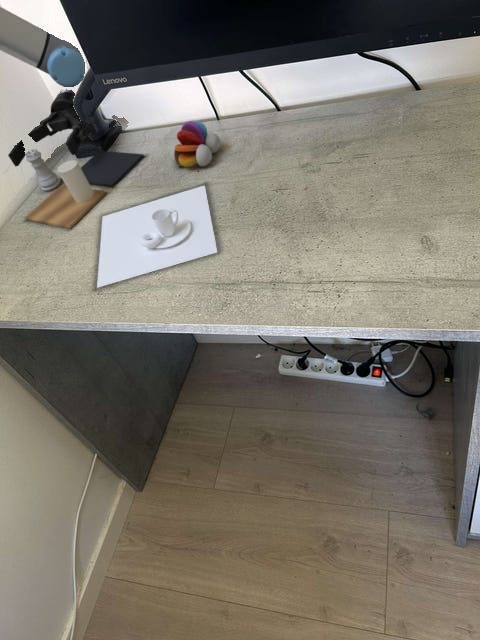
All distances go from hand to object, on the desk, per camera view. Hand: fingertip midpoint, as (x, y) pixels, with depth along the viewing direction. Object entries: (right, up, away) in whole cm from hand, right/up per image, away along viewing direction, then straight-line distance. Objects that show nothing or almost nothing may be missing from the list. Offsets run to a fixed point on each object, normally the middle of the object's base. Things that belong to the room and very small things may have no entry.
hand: (41, 154), depth 102 cm
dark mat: (+13, -3, +1) cm, 14 cm away
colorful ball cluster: (+33, -3, -5) cm, 34 cm away
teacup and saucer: (+27, -20, -18) cm, 38 cm away
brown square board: (+7, -12, -5) cm, 15 cm away
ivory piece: (+11, -10, -5) cm, 16 cm away
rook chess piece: (+1, -6, +3) cm, 7 cm away
